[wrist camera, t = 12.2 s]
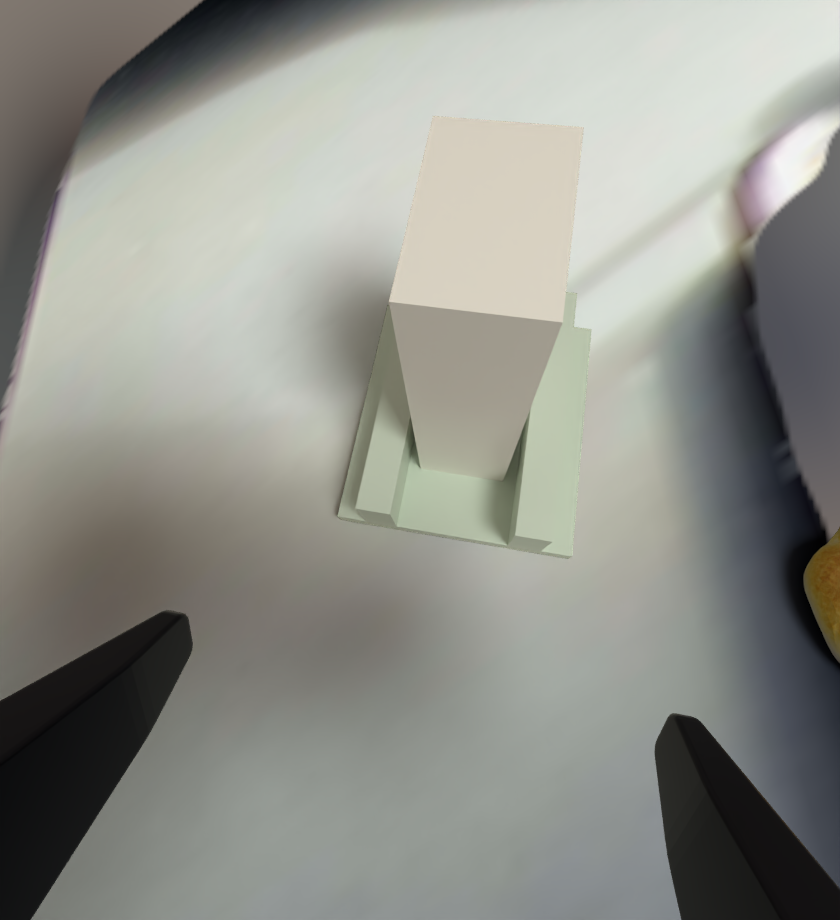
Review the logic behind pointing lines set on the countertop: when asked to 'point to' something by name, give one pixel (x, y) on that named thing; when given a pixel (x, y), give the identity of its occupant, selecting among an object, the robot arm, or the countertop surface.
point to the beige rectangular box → (483, 285)
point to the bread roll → (826, 591)
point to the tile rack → (464, 497)
